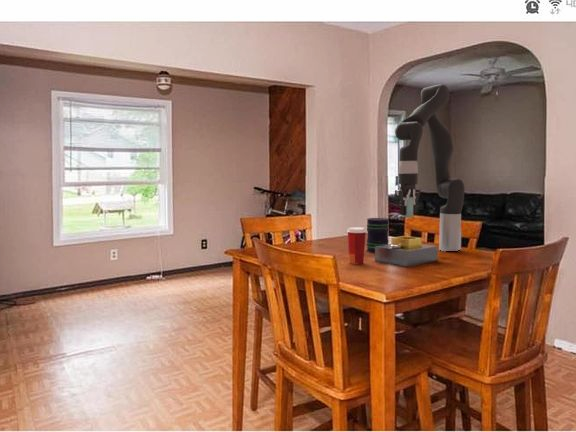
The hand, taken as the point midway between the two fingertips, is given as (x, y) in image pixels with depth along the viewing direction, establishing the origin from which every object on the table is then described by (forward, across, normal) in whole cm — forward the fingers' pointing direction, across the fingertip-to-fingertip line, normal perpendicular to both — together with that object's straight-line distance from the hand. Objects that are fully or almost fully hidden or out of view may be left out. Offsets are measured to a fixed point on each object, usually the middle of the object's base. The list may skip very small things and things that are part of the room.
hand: (407, 214), depth 189 cm
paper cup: (+19, +19, -10) cm, 29 cm away
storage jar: (+19, -9, -23) cm, 31 cm away
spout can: (+1, 0, 0) cm, 1 cm away
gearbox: (+19, 0, 0) cm, 19 cm away
